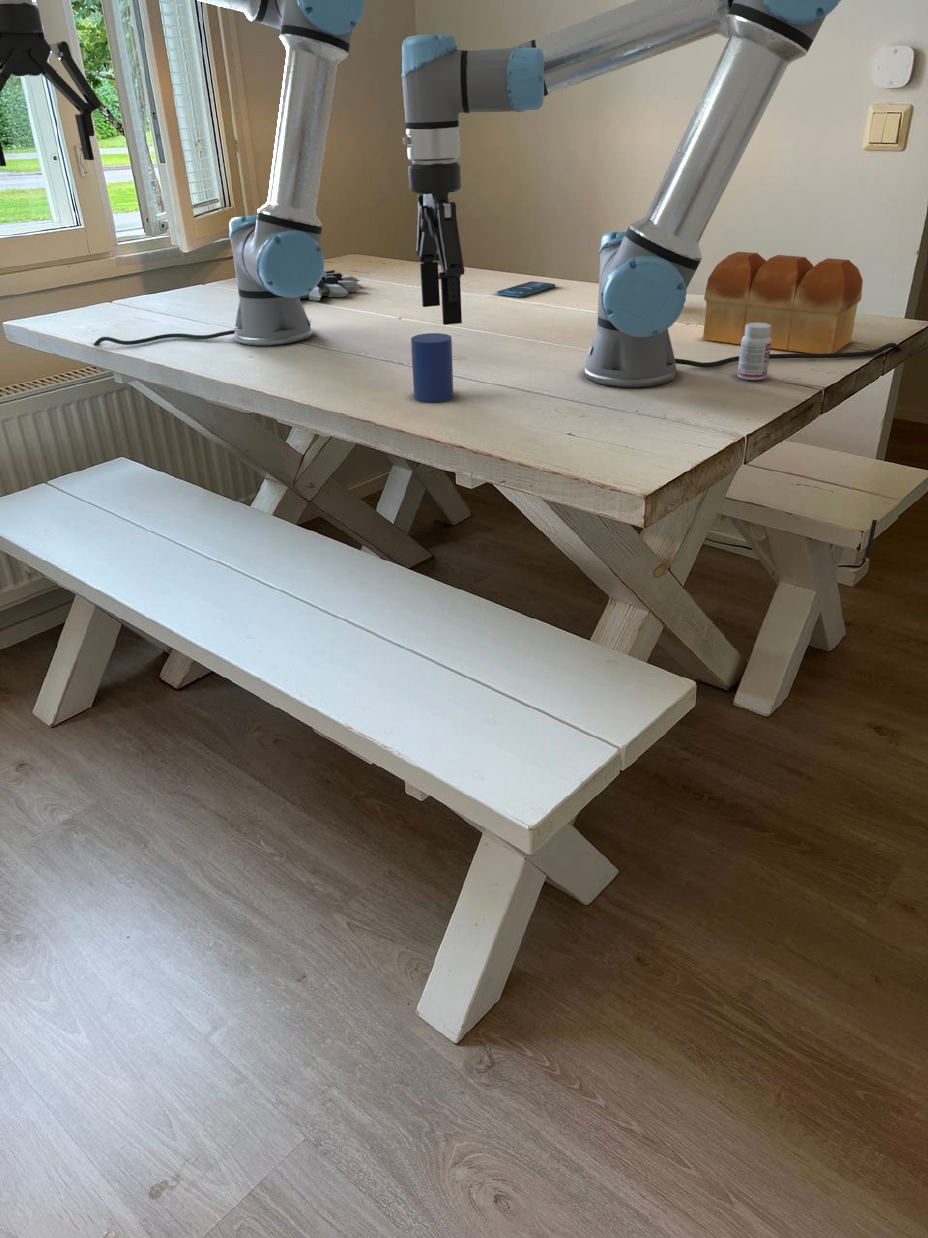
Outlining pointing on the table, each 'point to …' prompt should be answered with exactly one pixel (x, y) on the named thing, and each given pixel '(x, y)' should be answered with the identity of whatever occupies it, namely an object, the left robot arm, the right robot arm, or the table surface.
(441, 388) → the canister
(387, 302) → the table surface
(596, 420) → the table surface
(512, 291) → the smartphone
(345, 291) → the decorative piece
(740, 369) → the pill bottle
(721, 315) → the bread
